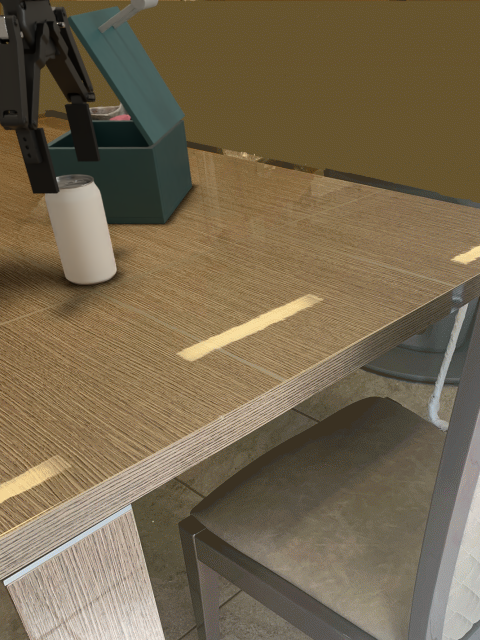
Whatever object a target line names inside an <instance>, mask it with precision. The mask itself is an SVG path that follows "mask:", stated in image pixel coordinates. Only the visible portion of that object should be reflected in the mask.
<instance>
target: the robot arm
mask: <svg viewBox="0 0 480 640" xmlns="http://www.w3.org/2000/svg"><path fill="white" fill-rule="evenodd" d="M50 1H51V0H0V4H1V5H2V6H1V7H2V11H3V14H0V126H1V127H2V128H3V129H4V131H14V132H15V134H16V139H17V142H18V145H19V149H20V152H21V155H22V159H23V163H24V167H25V170H26V173H27V177H28V180H29V184H30V187H31V191H32V195H37V194H38V195H39V194H40V195H42V194H43V195H45V194H57V193H58V192H60V191H59V187H58V183H57V179H56V175H55V171H54V167H53V164H52V160H51V156H50V152H49V148H48V141H47V136H46V134H45V130H44V127H39V111H40V110H39V108H40V92H41V91H40V89H41V71H42V69H43V68H45V67H47V70H48V71H49V73H50V75H51V77H53V79H54V81H55V83H56V85H57V86H58V88H59V89H60V91H61V93H62V94H63V96H64V98H65V100H67V102H68V103H66V104H64V109H65V114H66V117H67V121H68V125H69V126H68V127H69V130H71V135H72V139H73V143H74V147H75V152H76V156H77V160H78V162H89V161H100V160H101V159H100V155H99V150H98V145H97V141H96V136H95V131H94V127H93V122H92V118H91V113H90V108H91V107H90V105H89V103H95V102H96V93H95V92H94V85H93V83H92V81H91V78H90V76H89V73H88V71H87V68H86V65H85V63H84V61H83V57H82V56H81V52H80V50H79V48H78V45H77V42H76V40H75V37H74V34H73V33H72V32H73V31H72V28H71V27H70V25H69V22H68V14H67V11H66V8H65V7H64V6H52V5H51V2H50Z"/></svg>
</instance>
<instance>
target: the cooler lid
mask: <svg viewBox="0 0 480 640" xmlns="http://www.w3.org/2000/svg"><path fill="white" fill-rule="evenodd" d="M158 3H159V0H130V3H129V4H128V5H126V6H125V7H124V8H123V9H121V10H120V8H119V6H117V5H116V6H111V7H106V8H103V9H98V10H97V9H96V10H92V11H88V12H82V13H79V14H74V15H70V16H67V18H68V22H69V26H70V29H71V31H72V32H73V33H74V35H75V36H76V38H77V39H78V41H79V42H80V44H81V45H82V47H83V48H84V50H85V51H86V53H87V54H88V56H89V57H90V58H91V60H92V62H93V63H94V65H95V66H96V68H97V69H98V71H99V72H100V73H101V75H102V77H103V78H104V80H105V81H106V83H107V84H108V86H109V88H110V90H112V92H113V94H114V95H115V97H116V98H117V99H118V101H119V103H120V102H121V104H122V105H123V107H124V108H125V110H126V111H127V113H128V115H129V116H130V117H131V119H132V120H133V122H134V123H135V125H136V126H137V128H138V129H139V131H140V132H141V134H142V136H143V137H144V139H145V140H146V142H147V143H148V145H149V146H152V145H153V144H155V143H156V142H157V141H158V140H159V139H160V138H161V137H162V136H163V135H164V134H166V133H167V132H168V131H169V130H170V129H171V128H172V127H173V126H174V125H175V124H177V123H178V122H179V121H180V120H183V119H184V118H185V116H186V114H185V113H184V111H183V110H182V108H181V106H180V105H179V103H178V102H177V100H176V98H175V96H174V95H173V94H172V92H171V90H170V88H169V87H168V85H167V84H166V82H165V80H164V79H163V77H162V75H161V74H160V73H159V71H158V69H157V67H156V66H155V64H154V63H153V61H152V59H151V58H150V56H149V55H148V53H147V52H146V50H145V48H144V47H143V45H142V43H141V42H140V40H139V38H138V37H137V35H136V34H135V32H134V31H133V29H132V27H131V26H130V24H129V22H128V21H129V20H131V19H132V17H134V16H136V15H137V14H138V13H140V12H141V11H144V10H147V9H152V8H155V7H156V6H157V5H158Z"/></svg>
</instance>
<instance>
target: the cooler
mask: <svg viewBox="0 0 480 640" xmlns="http://www.w3.org/2000/svg"><path fill="white" fill-rule="evenodd" d="M92 122H93V127H94V131H95V136H96V141H97V145H98V150H99V155H100V159H101V160H100V161H89V162H78V160H77V156H76V152H75V147H74V143H73V139H72V135H71V130H70V129H69V130H68V131H66V132H64V133H63V134H61V135H59V136H58V137H56V138H54V139H53V140H51V141H50V142H47V144H48V148H49V152H50V156H51V160H52V164H53V167H54V171H55V175H56V177H59V176H64V175H76V174H80V175H88V176H91V177H93V178H94V183H95V185H96V186H97V187H98V189H99V191H100V194H101V198H102V202H103V207H104V211H105V216H106V221H107V225H111V224H113V225H119V224H121V225H123V224H124V225H165V224H166V222H168V220H169V219H170V217H171V216H172V215H173V213H174V212H175V210H176V209H177V208H178V206H179V205H180V203H182V201H183V199H184V198H185V197H186V196H187V194H188V193H189V191H190V190H191V189H192V188H193V181H192V172H191V165H190V159H189V158H190V157H189V150H188V143H187V136H186V135H187V134H186V128H185V127H186V126H185V120H184V119H181V120H180V121H179V122H178V123H177V124H175V125H174V126H173V127H172V128H171V129H170V130H169V131H168V132H167V133H166V134H164V135H163V136H162V137H161V138H160V139H159V140H158V141H157V142H156V143H155V144H153V145H152V146H149V145H148V143H147V142H146V140H145V139H144V137H143V136H142V134H141V132H140V131H139V129H138V128H137V126H136V125H135V123H134V122H133V120H92Z"/></svg>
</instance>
